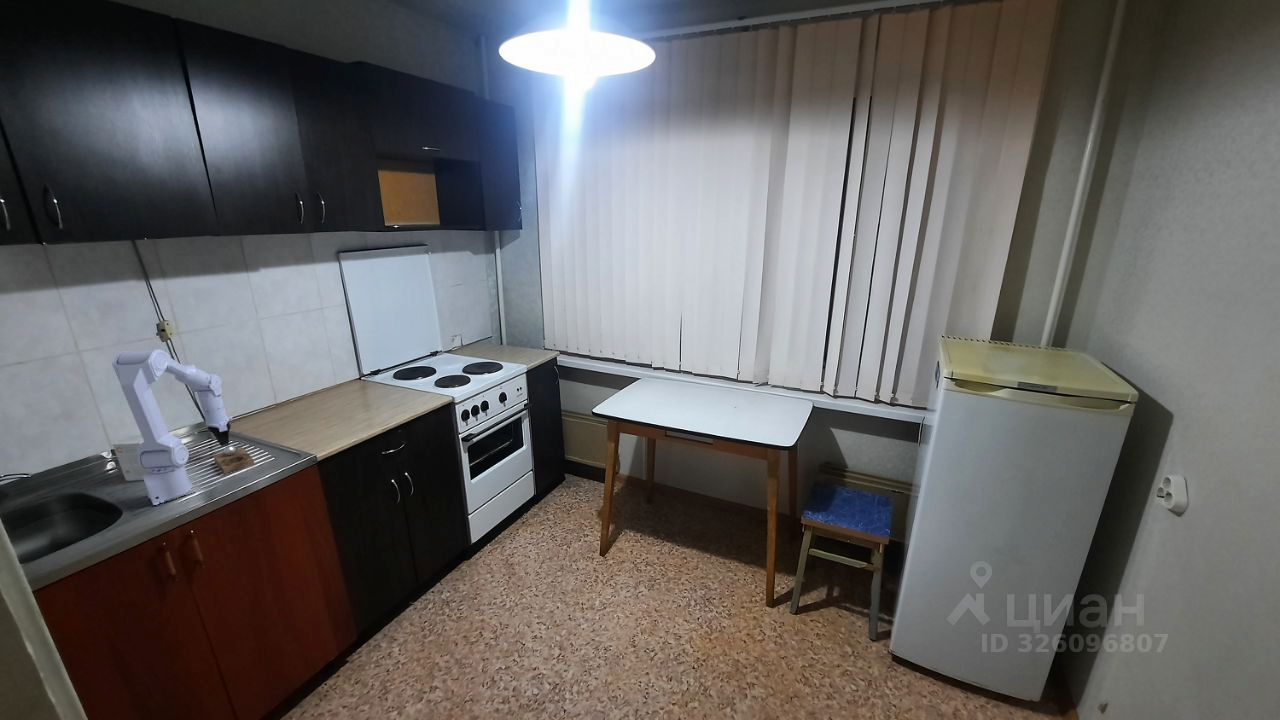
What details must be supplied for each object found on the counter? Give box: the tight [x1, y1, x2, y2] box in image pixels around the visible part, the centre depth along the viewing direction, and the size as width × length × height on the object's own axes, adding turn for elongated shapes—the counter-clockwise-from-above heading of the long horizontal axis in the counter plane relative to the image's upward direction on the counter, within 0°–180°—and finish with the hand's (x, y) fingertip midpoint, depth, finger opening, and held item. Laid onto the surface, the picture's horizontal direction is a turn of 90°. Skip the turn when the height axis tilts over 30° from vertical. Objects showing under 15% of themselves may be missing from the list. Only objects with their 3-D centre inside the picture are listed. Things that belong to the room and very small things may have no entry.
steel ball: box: [222, 445, 237, 455], centre depth 167 cm, size 3×3×3 cm
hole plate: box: [213, 446, 255, 476], centre depth 166 cm, size 8×13×2 cm, turn 50°
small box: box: [111, 434, 149, 482], centre depth 158 cm, size 8×6×13 cm
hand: (224, 444), depth 172 cm, fingers closed
